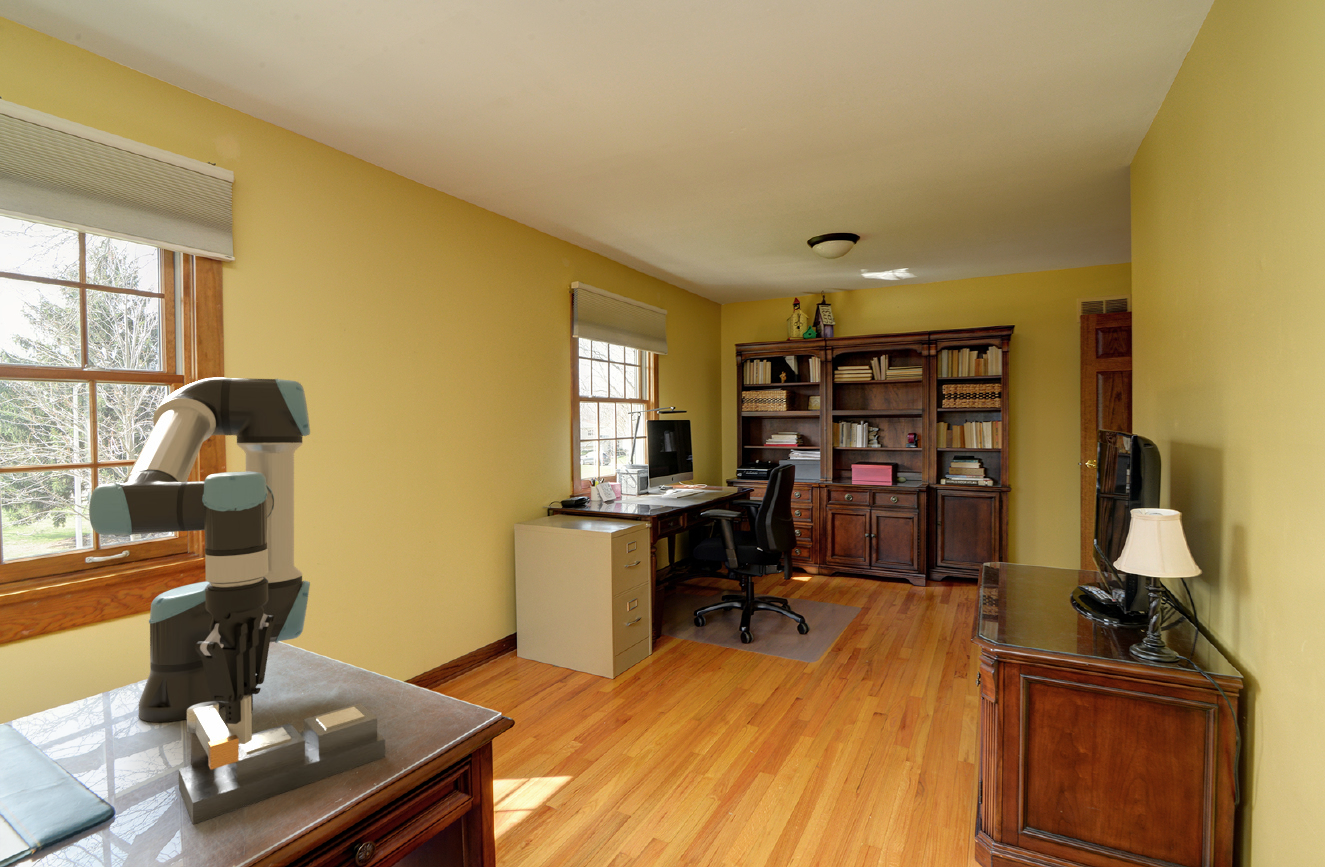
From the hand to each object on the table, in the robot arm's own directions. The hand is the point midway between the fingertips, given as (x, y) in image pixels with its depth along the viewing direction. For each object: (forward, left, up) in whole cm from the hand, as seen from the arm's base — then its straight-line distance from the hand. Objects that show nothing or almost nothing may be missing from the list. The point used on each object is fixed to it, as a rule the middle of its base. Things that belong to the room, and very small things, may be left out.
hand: (239, 741), depth 93 cm
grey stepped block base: (-5, +7, -9) cm, 13 cm away
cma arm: (-4, -3, -1) cm, 5 cm away
